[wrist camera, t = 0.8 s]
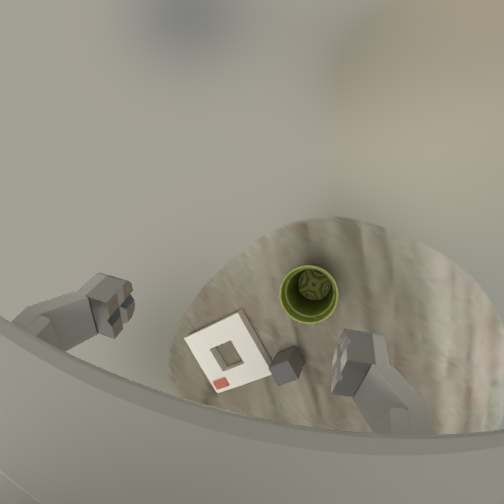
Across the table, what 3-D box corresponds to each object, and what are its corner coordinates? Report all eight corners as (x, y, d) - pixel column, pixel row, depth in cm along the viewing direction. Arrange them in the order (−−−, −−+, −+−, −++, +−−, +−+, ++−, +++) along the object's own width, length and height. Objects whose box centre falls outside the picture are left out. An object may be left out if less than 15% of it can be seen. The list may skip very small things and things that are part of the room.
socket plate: (275, 368, 59) (271, 375, 56) (221, 387, 64) (216, 394, 61) (242, 309, 60) (236, 313, 57) (189, 334, 65) (182, 339, 62)
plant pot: (347, 267, 53) (346, 276, 45) (330, 315, 55) (327, 332, 47) (297, 251, 56) (288, 257, 47) (283, 299, 57) (271, 313, 49)
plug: (304, 361, 57) (298, 378, 51) (286, 368, 59) (278, 385, 52) (295, 345, 58) (287, 360, 51) (277, 352, 59) (268, 368, 52)
